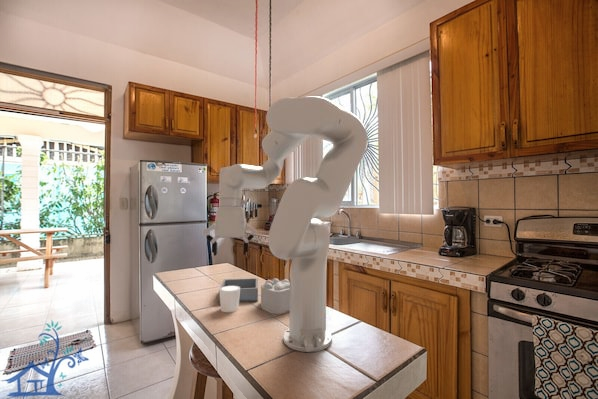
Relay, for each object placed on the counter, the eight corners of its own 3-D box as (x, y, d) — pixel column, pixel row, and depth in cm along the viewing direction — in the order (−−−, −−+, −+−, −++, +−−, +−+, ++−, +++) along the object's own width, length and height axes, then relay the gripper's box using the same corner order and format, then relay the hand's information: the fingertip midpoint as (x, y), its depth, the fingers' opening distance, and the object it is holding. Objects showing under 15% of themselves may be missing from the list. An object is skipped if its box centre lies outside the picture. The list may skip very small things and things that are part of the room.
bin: (257, 301, 98) (257, 288, 98) (219, 302, 96) (219, 289, 96) (257, 289, 111) (257, 278, 112) (223, 290, 109) (223, 279, 109)
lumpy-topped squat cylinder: (275, 315, 85) (275, 288, 86) (253, 304, 95) (254, 279, 95) (300, 307, 92) (300, 282, 92) (277, 297, 102) (277, 274, 102)
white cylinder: (242, 305, 94) (243, 285, 94) (236, 313, 87) (236, 291, 87) (223, 304, 94) (223, 284, 94) (215, 312, 87) (216, 290, 88)
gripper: (256, 204, 96) (256, 252, 96) (206, 203, 94) (205, 253, 93) (256, 203, 89) (256, 256, 89) (201, 203, 86) (201, 257, 86)
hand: (230, 254), depth 91 cm, fingers open, 9 cm apart
